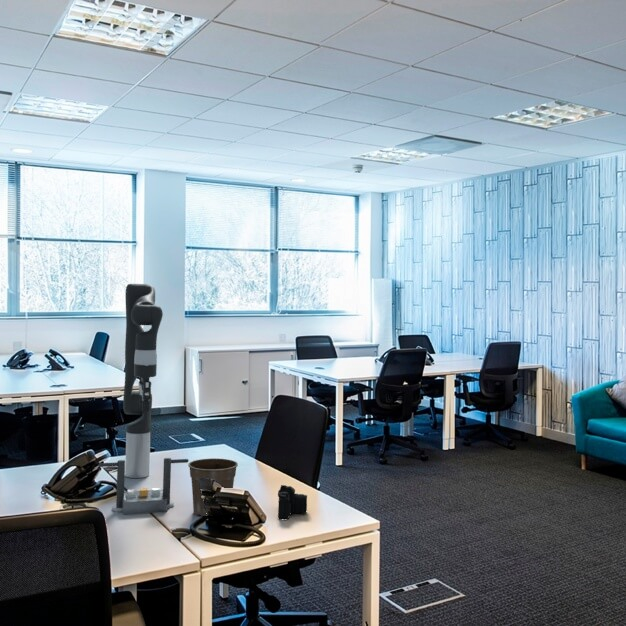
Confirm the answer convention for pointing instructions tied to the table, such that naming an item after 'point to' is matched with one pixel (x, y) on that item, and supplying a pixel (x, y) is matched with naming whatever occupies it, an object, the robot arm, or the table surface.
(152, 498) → the grey block holder
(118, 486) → the cable post
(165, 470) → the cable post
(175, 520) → the table surface
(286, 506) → the film camera
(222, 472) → the plant pot
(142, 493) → the orange matte cube
